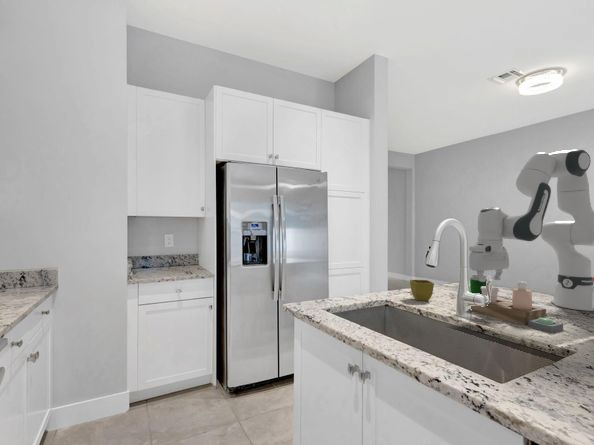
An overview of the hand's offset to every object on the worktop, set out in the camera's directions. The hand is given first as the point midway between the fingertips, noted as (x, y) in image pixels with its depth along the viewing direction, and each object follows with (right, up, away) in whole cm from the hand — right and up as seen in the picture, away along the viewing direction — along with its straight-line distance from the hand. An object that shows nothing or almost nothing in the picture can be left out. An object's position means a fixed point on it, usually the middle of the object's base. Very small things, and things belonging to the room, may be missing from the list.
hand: (489, 280), depth 133 cm
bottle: (+5, -12, -12) cm, 18 cm away
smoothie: (0, -13, 0) cm, 13 cm away
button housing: (+6, -13, -22) cm, 26 cm away
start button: (+6, -13, -22) cm, 26 cm away
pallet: (+2, -14, -6) cm, 15 cm away
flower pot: (-19, -14, +24) cm, 33 cm away
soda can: (+9, -14, +24) cm, 29 cm away
